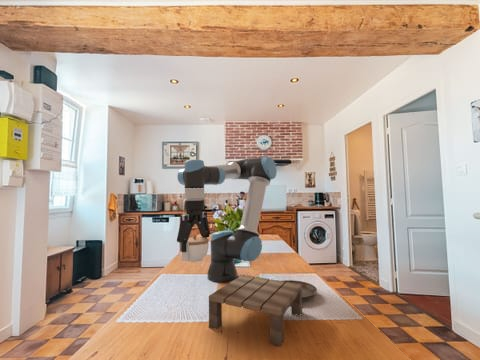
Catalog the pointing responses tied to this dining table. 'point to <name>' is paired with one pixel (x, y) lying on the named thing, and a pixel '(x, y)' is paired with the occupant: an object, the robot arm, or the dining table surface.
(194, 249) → the lidded jar
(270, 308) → the walnut rack
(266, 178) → the robot arm
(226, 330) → the dining table surface
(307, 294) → the plant saucer
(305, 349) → the dining table surface
